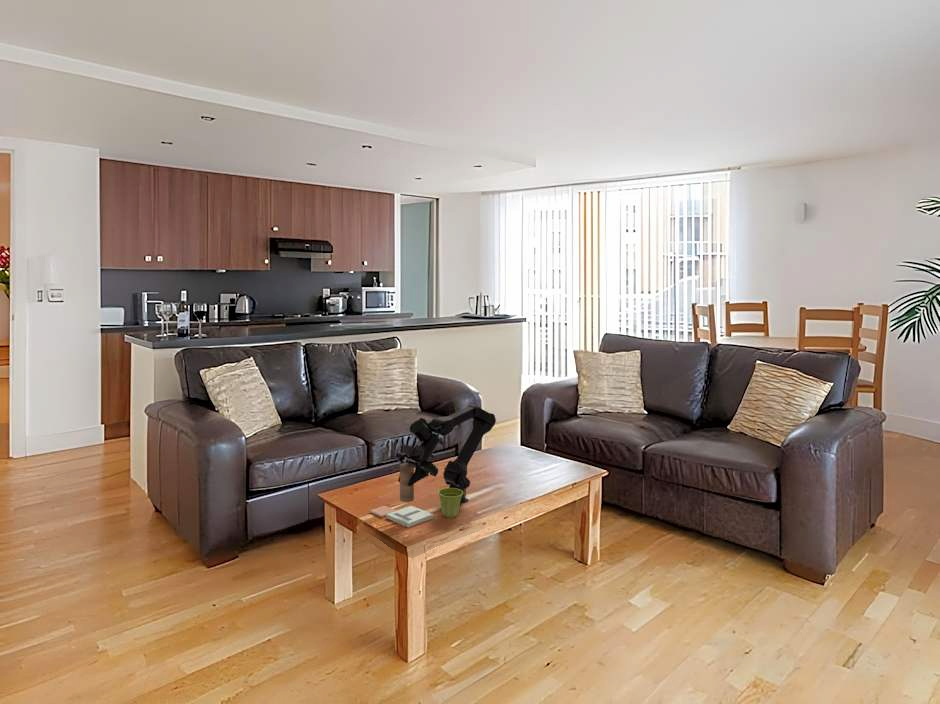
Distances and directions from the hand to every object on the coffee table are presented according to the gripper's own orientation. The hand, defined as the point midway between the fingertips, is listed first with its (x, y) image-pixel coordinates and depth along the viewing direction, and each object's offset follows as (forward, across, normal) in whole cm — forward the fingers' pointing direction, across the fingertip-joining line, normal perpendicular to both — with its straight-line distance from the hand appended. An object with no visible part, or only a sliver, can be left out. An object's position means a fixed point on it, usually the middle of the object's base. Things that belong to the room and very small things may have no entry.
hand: (403, 483), depth 229 cm
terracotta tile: (+10, -11, +9) cm, 17 cm away
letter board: (+8, 0, +11) cm, 14 cm away
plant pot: (-1, +8, +21) cm, 22 cm away
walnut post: (+4, 0, +6) cm, 7 cm away
